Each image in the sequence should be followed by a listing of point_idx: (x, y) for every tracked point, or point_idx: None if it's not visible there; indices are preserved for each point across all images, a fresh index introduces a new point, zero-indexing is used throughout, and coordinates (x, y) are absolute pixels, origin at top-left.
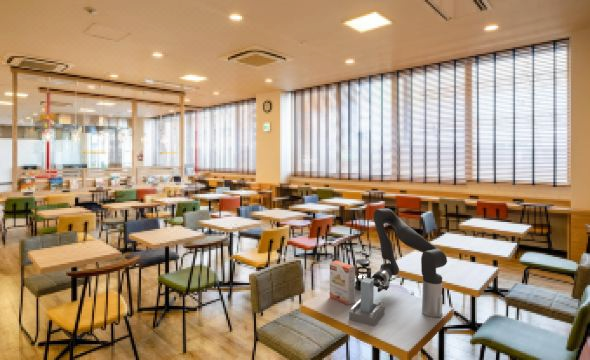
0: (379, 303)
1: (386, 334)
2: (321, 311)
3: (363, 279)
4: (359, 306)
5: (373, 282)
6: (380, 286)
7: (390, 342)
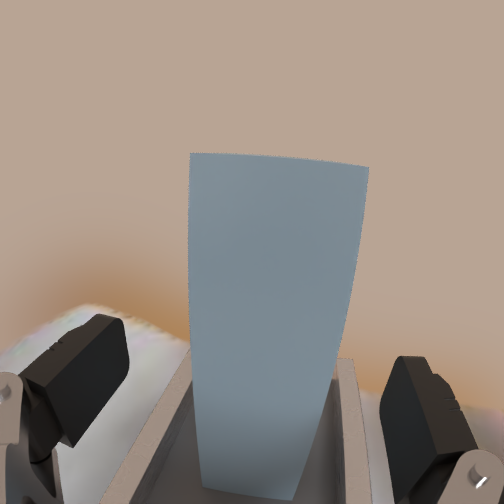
0: (133, 486)
1: (133, 354)
2: (495, 412)
3: (346, 163)
4: (331, 467)
5: (191, 212)
6: (52, 353)
7: (128, 321)
